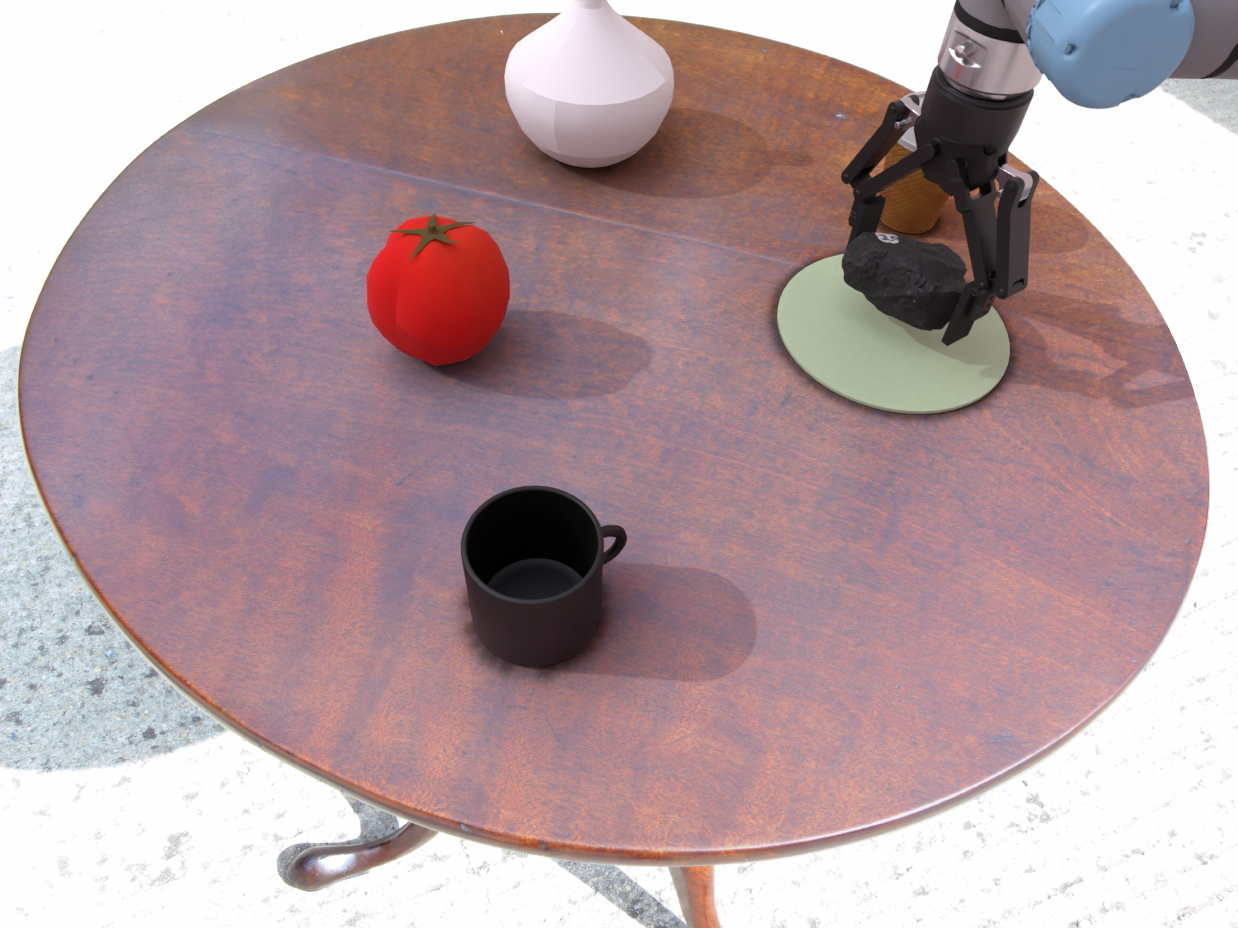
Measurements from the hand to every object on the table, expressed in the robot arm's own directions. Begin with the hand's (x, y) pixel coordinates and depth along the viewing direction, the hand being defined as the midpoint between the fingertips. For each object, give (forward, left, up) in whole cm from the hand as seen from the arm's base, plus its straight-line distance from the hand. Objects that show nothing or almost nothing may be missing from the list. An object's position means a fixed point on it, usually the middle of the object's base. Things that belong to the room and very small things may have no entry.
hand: (902, 297), depth 85 cm
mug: (-8, +43, -4) cm, 44 cm away
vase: (+41, +8, -4) cm, 42 cm away
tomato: (+20, +37, -4) cm, 42 cm away
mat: (0, 0, -4) cm, 4 cm away
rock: (0, 0, 0) cm, 0 cm away
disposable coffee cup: (+12, -14, -4) cm, 19 cm away
